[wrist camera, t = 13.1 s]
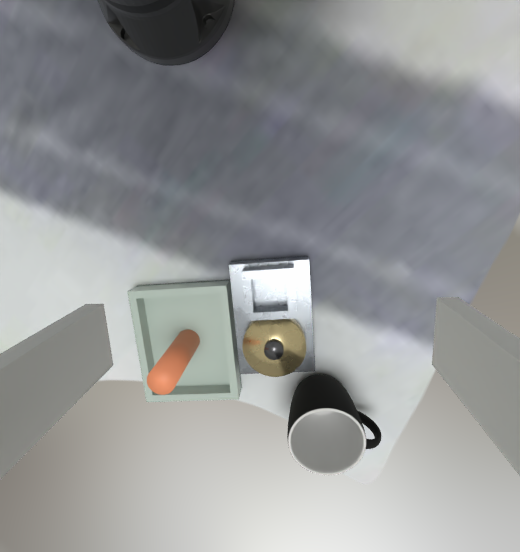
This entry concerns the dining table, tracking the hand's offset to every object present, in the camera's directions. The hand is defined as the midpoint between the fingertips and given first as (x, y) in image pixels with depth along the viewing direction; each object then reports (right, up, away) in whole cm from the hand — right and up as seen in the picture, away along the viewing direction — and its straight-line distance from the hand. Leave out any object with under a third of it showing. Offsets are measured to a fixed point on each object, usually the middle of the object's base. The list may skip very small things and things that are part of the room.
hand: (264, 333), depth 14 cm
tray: (-10, -6, +36) cm, 38 cm away
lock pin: (-10, -7, +35) cm, 37 cm away
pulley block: (+2, -3, +34) cm, 34 cm away
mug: (+10, -15, +37) cm, 41 cm away
